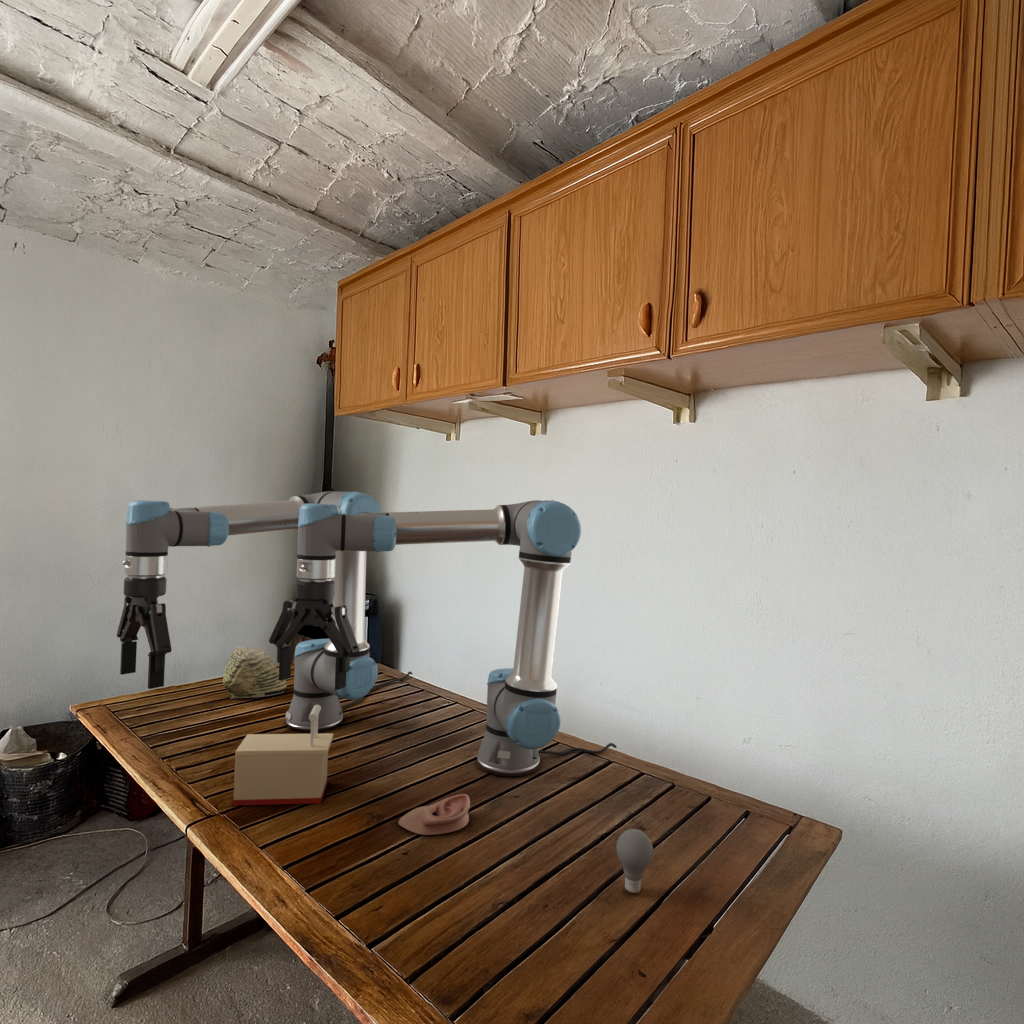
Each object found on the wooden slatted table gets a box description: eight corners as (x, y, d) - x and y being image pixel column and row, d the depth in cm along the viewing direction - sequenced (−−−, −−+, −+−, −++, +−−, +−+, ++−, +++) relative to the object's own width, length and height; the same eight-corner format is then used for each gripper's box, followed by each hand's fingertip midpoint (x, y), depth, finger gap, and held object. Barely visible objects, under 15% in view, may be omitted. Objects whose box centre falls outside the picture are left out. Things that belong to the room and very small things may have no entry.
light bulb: (610, 879, 108) (613, 822, 108) (644, 879, 109) (647, 822, 109) (619, 902, 102) (622, 840, 102) (655, 901, 103) (658, 840, 103)
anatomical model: (392, 810, 121) (414, 784, 132) (391, 830, 121) (413, 803, 132) (459, 820, 118) (475, 792, 130) (458, 841, 118) (474, 812, 130)
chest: (326, 783, 140) (328, 737, 140) (320, 803, 131) (322, 754, 131) (245, 784, 138) (247, 738, 137) (233, 805, 128) (235, 755, 128)
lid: (333, 737, 140) (334, 702, 140) (327, 754, 131) (328, 716, 131) (247, 738, 137) (248, 702, 137) (235, 755, 128) (236, 716, 128)
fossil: (218, 695, 195) (220, 647, 195) (278, 685, 208) (279, 640, 207) (228, 703, 189) (230, 653, 188) (289, 692, 201) (290, 645, 201)
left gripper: (101, 570, 134) (97, 670, 134) (152, 584, 118) (147, 697, 118) (140, 569, 140) (136, 664, 140) (193, 582, 124) (188, 689, 124)
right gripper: (253, 576, 129) (249, 679, 130) (357, 586, 121) (353, 697, 121) (278, 572, 136) (275, 670, 137) (379, 582, 128) (375, 687, 128)
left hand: (141, 680), depth 129 cm, fingers open, 13 cm apart
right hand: (312, 683), depth 129 cm, fingers open, 13 cm apart
